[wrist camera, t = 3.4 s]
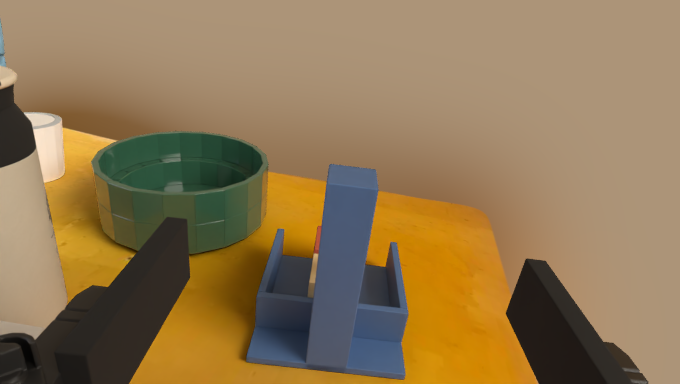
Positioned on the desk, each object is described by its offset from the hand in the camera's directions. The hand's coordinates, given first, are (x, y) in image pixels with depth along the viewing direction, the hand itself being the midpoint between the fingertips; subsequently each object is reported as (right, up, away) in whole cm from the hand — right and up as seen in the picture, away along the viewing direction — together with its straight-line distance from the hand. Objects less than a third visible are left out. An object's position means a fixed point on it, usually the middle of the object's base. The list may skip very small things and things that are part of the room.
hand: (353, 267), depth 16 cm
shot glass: (-38, +5, +35) cm, 52 cm away
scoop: (-1, -7, +20) cm, 21 cm away
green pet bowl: (-18, 0, +31) cm, 36 cm away
